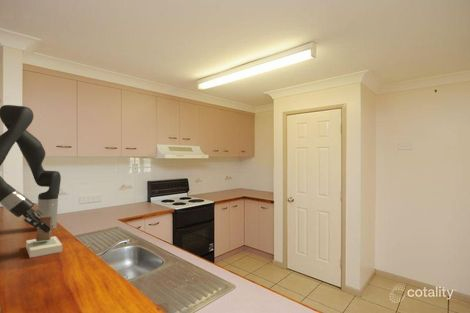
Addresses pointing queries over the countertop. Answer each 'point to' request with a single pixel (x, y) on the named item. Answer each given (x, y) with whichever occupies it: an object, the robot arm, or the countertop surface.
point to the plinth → (43, 247)
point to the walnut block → (40, 233)
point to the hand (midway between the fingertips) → (49, 229)
